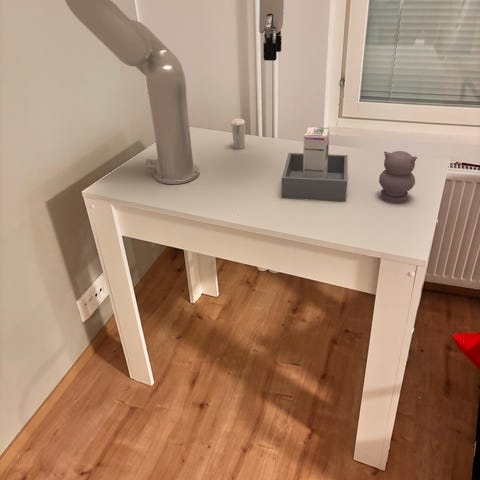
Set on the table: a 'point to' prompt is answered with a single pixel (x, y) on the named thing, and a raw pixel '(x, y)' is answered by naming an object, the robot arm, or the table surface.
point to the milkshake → (238, 132)
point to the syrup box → (315, 152)
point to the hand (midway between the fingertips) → (272, 55)
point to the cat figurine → (397, 176)
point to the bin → (315, 179)
